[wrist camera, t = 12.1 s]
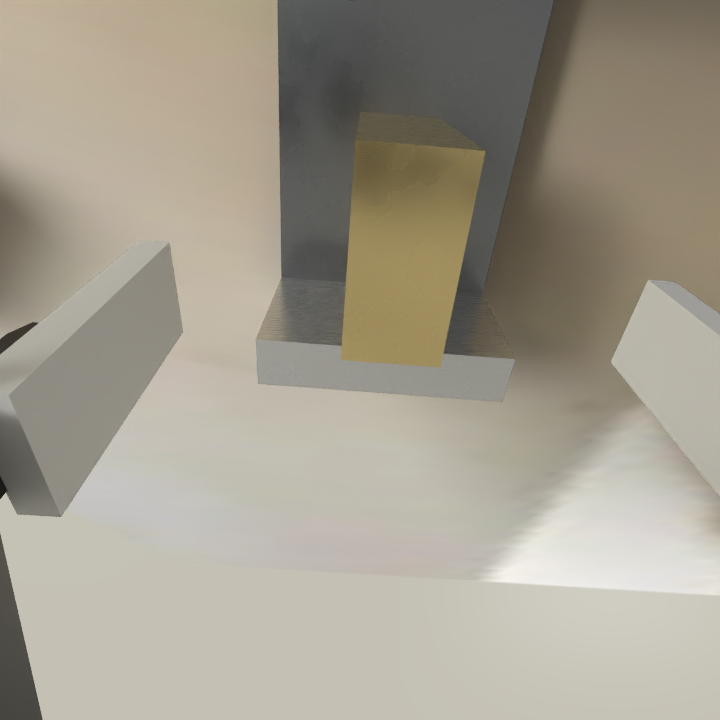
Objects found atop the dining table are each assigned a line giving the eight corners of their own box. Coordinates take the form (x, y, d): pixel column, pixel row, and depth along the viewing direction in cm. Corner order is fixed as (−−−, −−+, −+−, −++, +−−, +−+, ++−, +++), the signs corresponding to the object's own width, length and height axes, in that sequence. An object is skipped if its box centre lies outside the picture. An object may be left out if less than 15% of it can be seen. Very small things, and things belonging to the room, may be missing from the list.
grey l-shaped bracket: (281, -371, 16) (198, -784, 8) (617, -332, 16) (841, -691, 9) (287, 301, 30) (258, 383, 22) (468, 315, 30) (502, 401, 23)
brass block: (360, 111, 22) (355, 139, 14) (442, 119, 22) (485, 150, 14) (349, 267, 27) (340, 360, 18) (418, 272, 27) (440, 367, 18)
